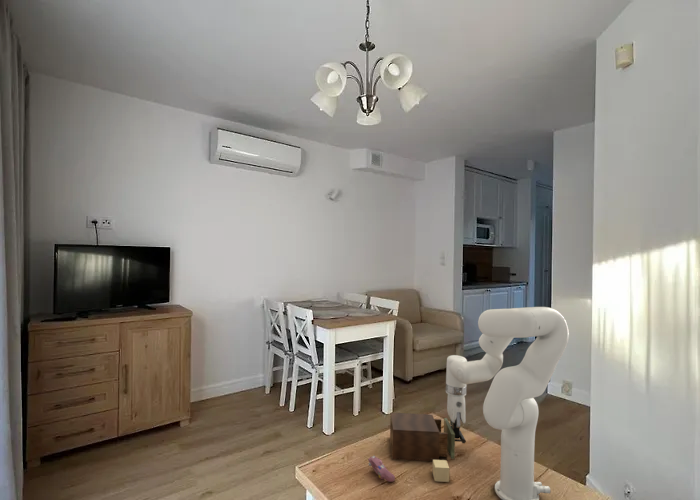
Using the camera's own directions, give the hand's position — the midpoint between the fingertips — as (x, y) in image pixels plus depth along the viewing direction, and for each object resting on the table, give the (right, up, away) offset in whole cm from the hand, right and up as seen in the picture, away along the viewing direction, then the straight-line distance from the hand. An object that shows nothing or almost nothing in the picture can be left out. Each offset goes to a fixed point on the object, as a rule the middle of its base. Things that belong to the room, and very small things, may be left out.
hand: (454, 437), depth 139 cm
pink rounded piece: (-30, -4, -17) cm, 34 cm away
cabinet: (-16, -5, 0) cm, 16 cm away
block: (-10, -5, -17) cm, 20 cm away
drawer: (-7, -4, 0) cm, 8 cm away
